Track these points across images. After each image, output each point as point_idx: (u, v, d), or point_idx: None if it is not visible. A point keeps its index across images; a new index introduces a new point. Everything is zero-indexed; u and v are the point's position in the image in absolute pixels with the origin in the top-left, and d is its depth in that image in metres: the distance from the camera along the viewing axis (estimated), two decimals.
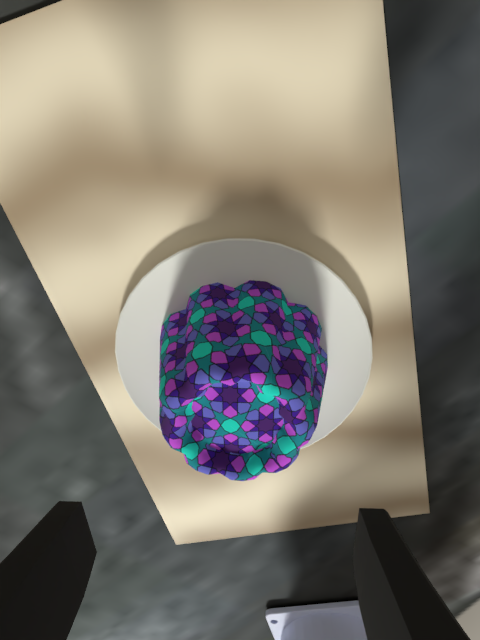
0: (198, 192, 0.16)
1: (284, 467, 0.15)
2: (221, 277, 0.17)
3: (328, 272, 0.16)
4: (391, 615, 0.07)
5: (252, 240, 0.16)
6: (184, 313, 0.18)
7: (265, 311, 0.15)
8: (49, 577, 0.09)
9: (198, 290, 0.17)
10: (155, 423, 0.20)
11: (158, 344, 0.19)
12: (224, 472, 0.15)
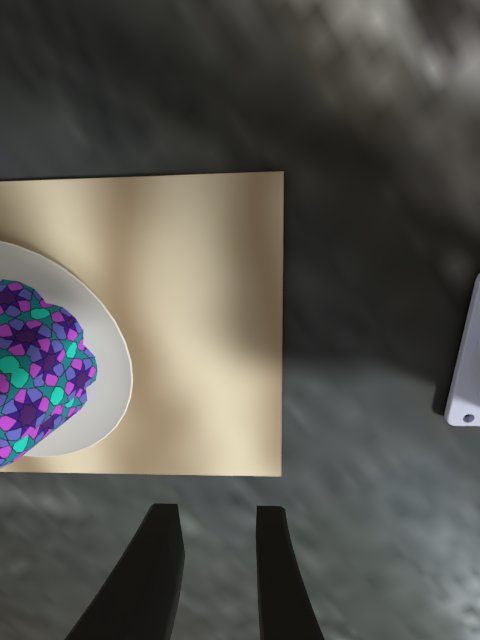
0: None
1: None
2: None
3: None
4: (260, 610, 0.08)
5: None
6: None
7: None
8: (160, 581, 0.08)
9: None
10: (81, 447, 0.21)
11: None
12: None
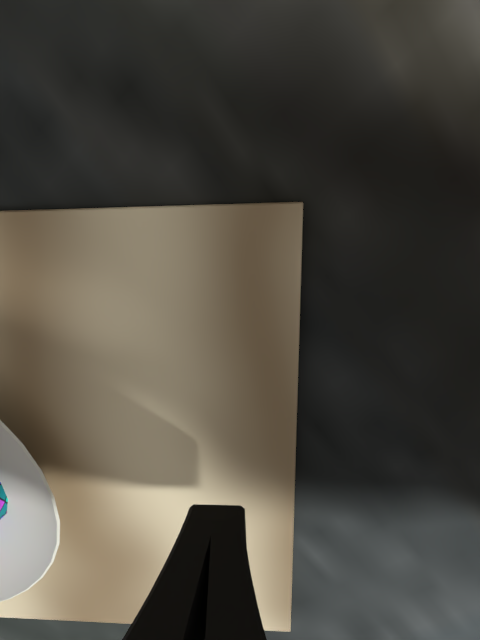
0: None
1: None
2: None
3: None
4: None
5: None
6: None
7: None
8: (205, 583, 0.08)
9: None
10: None
11: None
12: None
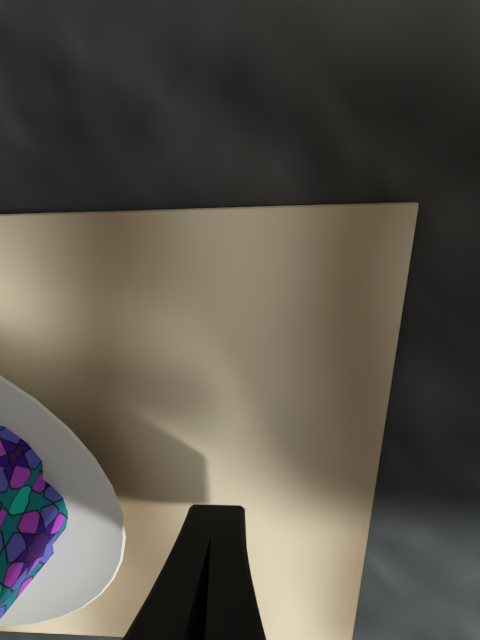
0: None
1: None
2: None
3: None
4: None
5: None
6: None
7: None
8: (205, 583, 0.08)
9: None
10: (47, 617, 0.13)
11: None
12: None
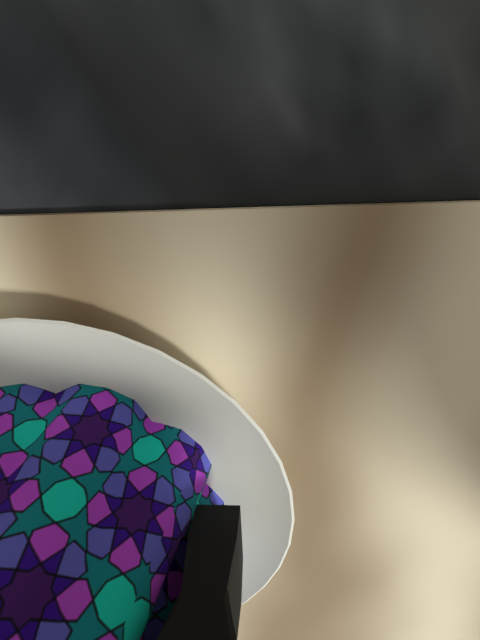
0: None
1: None
2: None
3: None
4: None
5: None
6: None
7: None
8: (233, 584, 0.08)
9: None
10: None
11: None
12: None
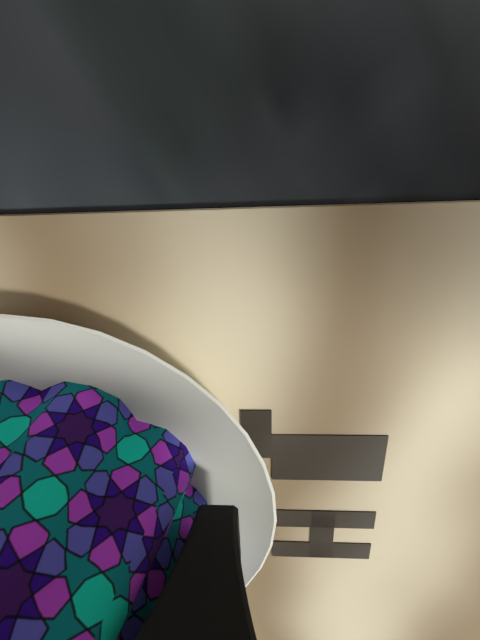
0: None
1: None
2: None
3: None
4: None
5: None
6: None
7: None
8: None
9: None
10: None
11: None
12: None
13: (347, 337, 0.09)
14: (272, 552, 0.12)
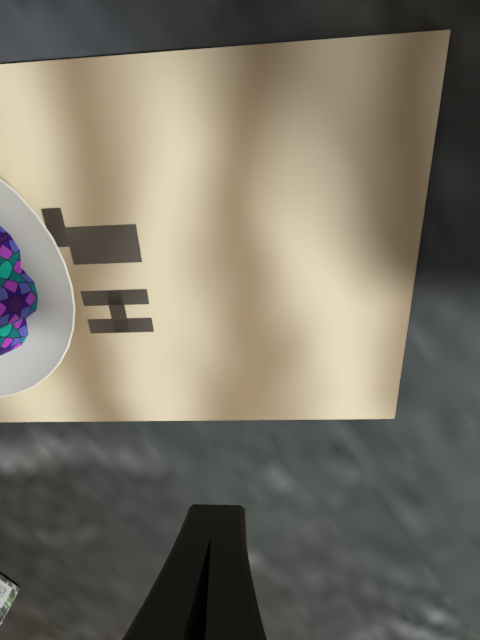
0: None
1: None
2: None
3: None
4: None
5: None
6: None
7: None
8: (206, 583, 0.08)
9: None
10: (23, 387, 0.19)
11: None
12: None
13: (90, 149, 0.15)
14: (90, 330, 0.18)
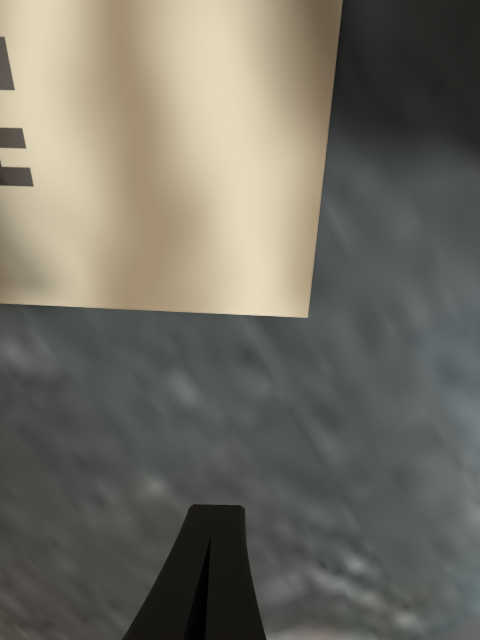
0: None
1: None
2: None
3: None
4: None
5: None
6: None
7: None
8: (206, 583, 0.08)
9: None
10: None
11: None
12: None
13: None
14: None
